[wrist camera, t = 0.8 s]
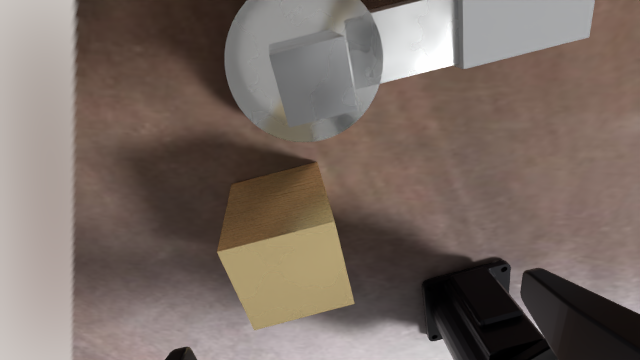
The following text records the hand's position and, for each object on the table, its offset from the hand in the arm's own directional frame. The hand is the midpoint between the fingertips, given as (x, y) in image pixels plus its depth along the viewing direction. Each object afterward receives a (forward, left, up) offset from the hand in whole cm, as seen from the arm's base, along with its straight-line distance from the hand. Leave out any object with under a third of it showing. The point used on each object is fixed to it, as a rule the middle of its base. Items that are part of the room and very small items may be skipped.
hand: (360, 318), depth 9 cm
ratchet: (+5, -5, -11) cm, 13 cm away
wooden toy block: (-3, +2, -11) cm, 12 cm away
